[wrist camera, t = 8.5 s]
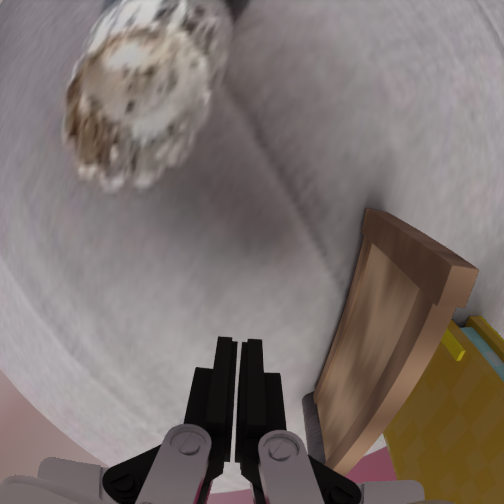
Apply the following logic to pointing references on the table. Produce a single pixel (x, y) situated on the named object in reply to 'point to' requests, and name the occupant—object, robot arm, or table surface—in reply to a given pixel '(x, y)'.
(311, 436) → the gate post
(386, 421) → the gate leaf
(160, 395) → the table surface
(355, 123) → the table surface
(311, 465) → the robot arm
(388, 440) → the book
